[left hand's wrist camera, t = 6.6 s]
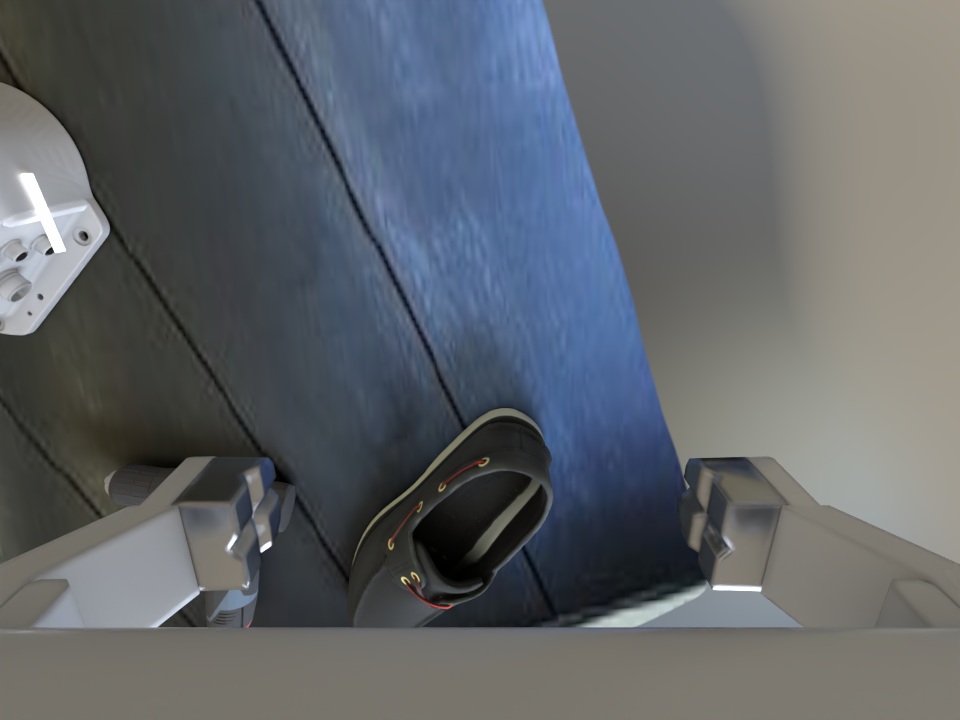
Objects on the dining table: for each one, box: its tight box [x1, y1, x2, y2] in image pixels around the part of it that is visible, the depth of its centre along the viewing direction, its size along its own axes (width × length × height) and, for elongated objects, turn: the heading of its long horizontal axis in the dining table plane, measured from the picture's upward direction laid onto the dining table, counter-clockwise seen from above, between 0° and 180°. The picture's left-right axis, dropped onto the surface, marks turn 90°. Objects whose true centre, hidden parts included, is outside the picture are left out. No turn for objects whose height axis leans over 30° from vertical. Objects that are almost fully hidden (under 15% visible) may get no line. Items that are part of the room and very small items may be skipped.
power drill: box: [104, 464, 295, 628], centre depth 57 cm, size 5×19×20 cm
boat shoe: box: [348, 408, 554, 628], centre depth 54 cm, size 13×33×10 cm, turn 137°
